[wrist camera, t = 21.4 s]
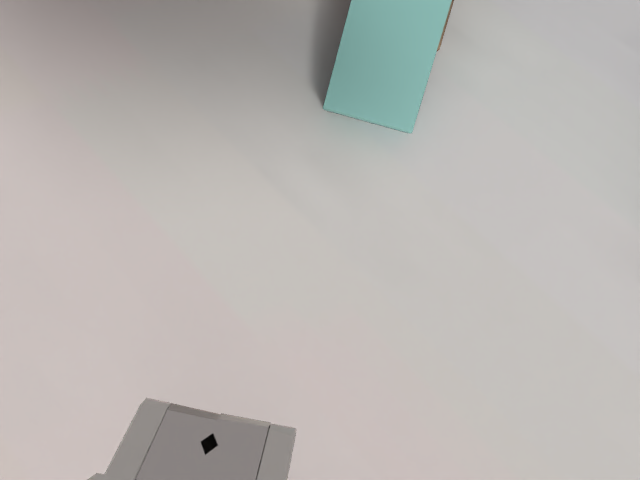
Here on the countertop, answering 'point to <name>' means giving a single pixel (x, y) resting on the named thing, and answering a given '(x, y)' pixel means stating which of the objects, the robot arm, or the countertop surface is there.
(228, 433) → the robot arm
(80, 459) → the countertop surface
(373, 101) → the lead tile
